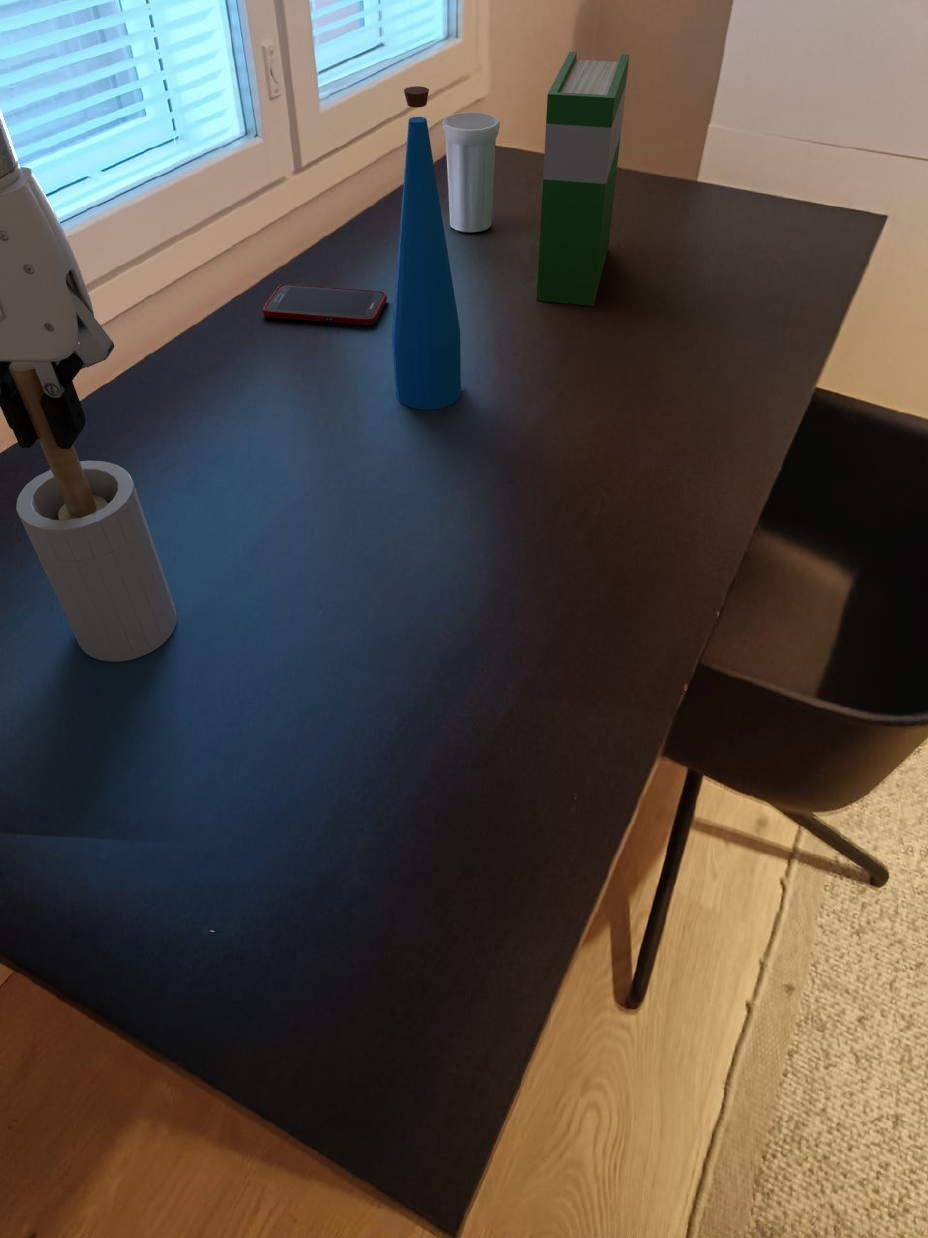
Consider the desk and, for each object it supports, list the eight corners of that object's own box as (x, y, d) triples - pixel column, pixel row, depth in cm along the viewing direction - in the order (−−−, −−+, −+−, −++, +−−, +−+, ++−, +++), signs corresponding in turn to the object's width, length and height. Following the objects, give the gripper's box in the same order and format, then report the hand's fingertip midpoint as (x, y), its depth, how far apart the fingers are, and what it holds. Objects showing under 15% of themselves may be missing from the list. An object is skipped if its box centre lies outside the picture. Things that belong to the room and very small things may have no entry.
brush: (67, 564, 68) (-15, 377, 57) (85, 534, 71) (9, 349, 59) (113, 566, 68) (40, 379, 57) (129, 535, 71) (62, 350, 59)
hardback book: (556, 244, 128) (569, 51, 111) (608, 248, 127) (629, 54, 110) (536, 300, 116) (547, 93, 99) (593, 305, 115) (614, 97, 98)
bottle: (384, 387, 102) (360, 87, 80) (438, 368, 105) (430, 73, 83) (418, 417, 98) (403, 109, 76) (473, 396, 100) (474, 93, 78)
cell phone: (280, 290, 118) (279, 283, 118) (388, 298, 117) (388, 291, 116) (261, 317, 113) (260, 310, 112) (374, 327, 111) (373, 319, 111)
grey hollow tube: (62, 659, 73) (-4, 527, 63) (97, 590, 79) (42, 458, 69) (160, 664, 73) (110, 531, 63) (188, 594, 78) (147, 462, 68)
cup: (487, 240, 129) (488, 133, 119) (435, 232, 131) (432, 126, 121) (505, 219, 135) (508, 114, 124) (455, 212, 137) (453, 108, 126)
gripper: (-242, 176, 47) (-84, 465, 60) (54, 180, 46) (149, 473, 59) (-162, 128, 52) (-33, 404, 65) (105, 131, 51) (181, 410, 64)
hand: (53, 435), depth 62 cm, fingers closed on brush, 2 cm apart
